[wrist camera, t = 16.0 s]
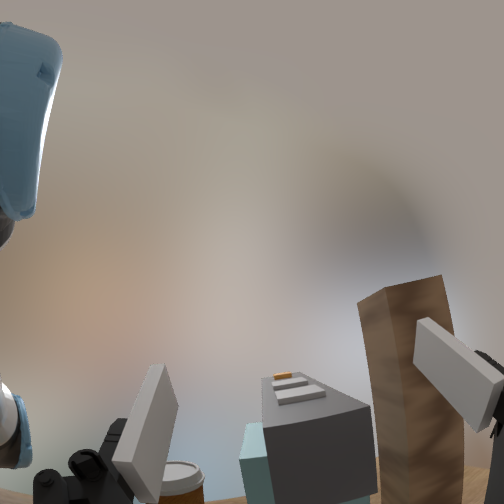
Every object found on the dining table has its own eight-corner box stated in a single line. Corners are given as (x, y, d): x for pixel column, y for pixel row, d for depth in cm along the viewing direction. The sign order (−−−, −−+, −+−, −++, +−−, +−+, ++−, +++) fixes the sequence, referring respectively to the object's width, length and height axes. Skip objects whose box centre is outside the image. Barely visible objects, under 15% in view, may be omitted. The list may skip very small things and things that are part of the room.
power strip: (277, 515, 9) (260, 417, 10) (267, 414, 30) (261, 374, 31) (377, 492, 9) (368, 395, 10) (305, 407, 30) (299, 368, 31)
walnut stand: (405, 567, 15) (384, 287, 24) (381, 536, 22) (356, 303, 32) (455, 544, 15) (441, 274, 24) (425, 519, 22) (405, 292, 32)
